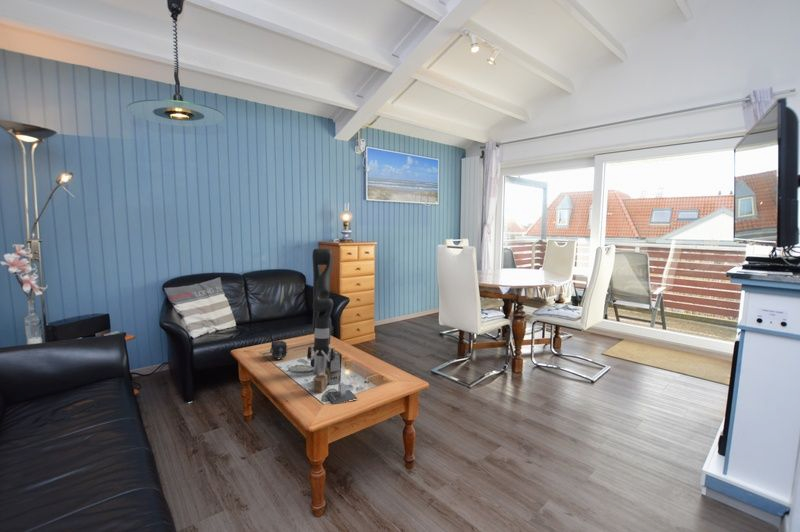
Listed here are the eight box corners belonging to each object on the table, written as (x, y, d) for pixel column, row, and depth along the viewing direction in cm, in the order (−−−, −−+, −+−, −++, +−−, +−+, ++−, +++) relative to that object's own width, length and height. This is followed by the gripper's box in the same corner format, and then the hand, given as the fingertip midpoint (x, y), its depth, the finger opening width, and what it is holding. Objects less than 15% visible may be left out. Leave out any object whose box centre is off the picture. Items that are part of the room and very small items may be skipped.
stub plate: (326, 395, 183) (327, 381, 183) (349, 391, 189) (349, 379, 189) (333, 404, 173) (333, 390, 172) (357, 400, 178) (357, 387, 178)
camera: (288, 361, 241) (283, 353, 254) (289, 344, 240) (284, 337, 253) (272, 363, 236) (267, 355, 249) (273, 346, 235) (268, 338, 247)
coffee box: (341, 383, 201) (342, 354, 200) (329, 385, 198) (330, 355, 197) (335, 378, 209) (336, 350, 208) (324, 379, 206) (325, 351, 205)
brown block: (318, 387, 194) (318, 371, 193) (326, 388, 193) (327, 372, 193) (312, 392, 187) (313, 375, 186) (322, 392, 186) (322, 376, 186)
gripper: (337, 336, 192) (336, 366, 192) (311, 334, 194) (310, 364, 194) (332, 338, 184) (331, 370, 184) (305, 336, 186) (304, 368, 187)
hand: (320, 367), depth 189 cm, fingers open, 8 cm apart
